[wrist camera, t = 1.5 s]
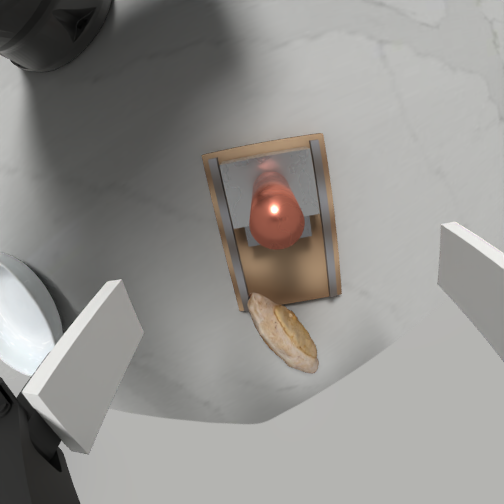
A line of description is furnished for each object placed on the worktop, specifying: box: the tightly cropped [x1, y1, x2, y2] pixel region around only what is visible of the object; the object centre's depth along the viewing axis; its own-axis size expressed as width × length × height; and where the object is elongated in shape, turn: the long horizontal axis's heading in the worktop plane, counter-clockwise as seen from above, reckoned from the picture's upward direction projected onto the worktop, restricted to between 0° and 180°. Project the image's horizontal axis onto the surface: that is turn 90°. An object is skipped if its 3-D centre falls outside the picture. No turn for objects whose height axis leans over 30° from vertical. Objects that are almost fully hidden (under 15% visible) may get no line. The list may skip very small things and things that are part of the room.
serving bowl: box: [0, 252, 63, 376], centre depth 36 cm, size 21×21×7 cm
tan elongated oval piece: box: [247, 293, 319, 373], centre depth 35 cm, size 5×14×4 cm
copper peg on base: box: [219, 147, 320, 250], centre depth 24 cm, size 8×8×13 cm
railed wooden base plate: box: [202, 133, 342, 312], centre depth 32 cm, size 18×12×2 cm, turn 11°
